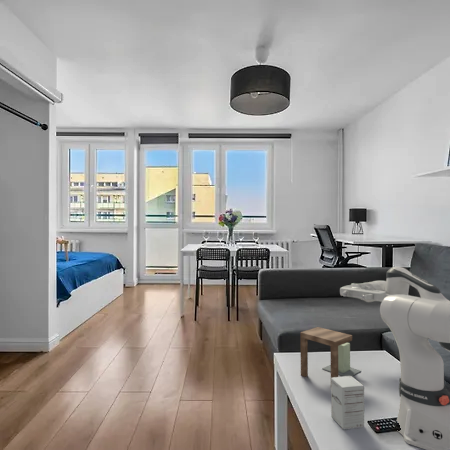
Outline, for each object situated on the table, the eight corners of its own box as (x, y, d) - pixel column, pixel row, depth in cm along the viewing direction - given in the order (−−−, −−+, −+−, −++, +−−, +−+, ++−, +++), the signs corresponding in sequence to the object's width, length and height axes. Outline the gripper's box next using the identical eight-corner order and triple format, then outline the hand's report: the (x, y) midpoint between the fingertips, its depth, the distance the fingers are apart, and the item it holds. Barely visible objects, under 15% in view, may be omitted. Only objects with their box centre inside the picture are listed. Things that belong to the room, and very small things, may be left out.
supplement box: (330, 417, 112) (330, 377, 112) (352, 414, 113) (351, 375, 113) (342, 430, 104) (342, 387, 105) (365, 427, 106) (364, 385, 106)
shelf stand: (352, 379, 139) (352, 335, 139) (335, 389, 131) (335, 341, 131) (318, 367, 151) (317, 326, 151) (300, 375, 143) (300, 332, 144)
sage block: (350, 369, 148) (349, 343, 148) (343, 372, 145) (343, 345, 145) (339, 366, 152) (339, 340, 152) (332, 369, 149) (332, 343, 149)
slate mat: (361, 371, 147) (361, 370, 147) (348, 378, 140) (348, 377, 140) (335, 363, 156) (335, 362, 156) (322, 369, 150) (322, 368, 150)
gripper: (391, 302, 156) (376, 307, 147) (349, 295, 172) (333, 299, 163) (391, 288, 156) (376, 291, 147) (349, 282, 172) (333, 285, 163)
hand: (353, 295), depth 155 cm, fingers open, 8 cm apart
